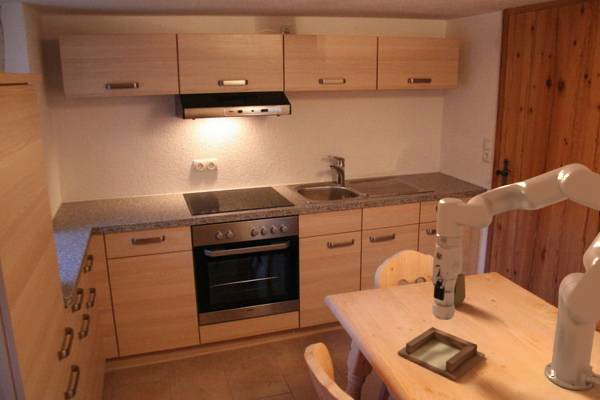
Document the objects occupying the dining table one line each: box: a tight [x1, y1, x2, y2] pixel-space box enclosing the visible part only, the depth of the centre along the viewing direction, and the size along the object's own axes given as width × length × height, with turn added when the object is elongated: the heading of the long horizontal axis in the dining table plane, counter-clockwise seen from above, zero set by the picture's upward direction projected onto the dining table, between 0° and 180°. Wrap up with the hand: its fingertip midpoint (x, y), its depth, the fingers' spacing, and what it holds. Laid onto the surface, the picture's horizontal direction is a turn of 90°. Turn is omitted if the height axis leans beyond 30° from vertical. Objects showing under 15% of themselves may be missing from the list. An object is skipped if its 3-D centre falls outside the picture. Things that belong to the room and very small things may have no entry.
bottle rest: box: [397, 326, 486, 382], centre depth 155 cm, size 20×18×4 cm
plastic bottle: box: [431, 273, 457, 321], centre depth 150 cm, size 6×7×20 cm
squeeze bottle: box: [454, 268, 467, 308], centre depth 188 cm, size 8×8×18 cm
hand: (444, 295), depth 151 cm, fingers closed on plastic bottle, 6 cm apart
